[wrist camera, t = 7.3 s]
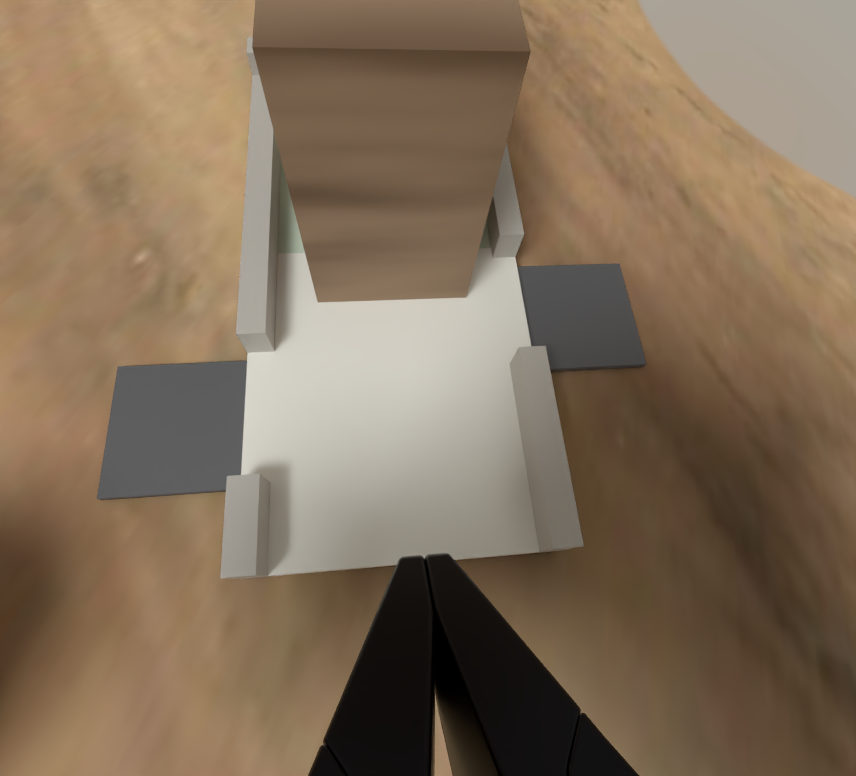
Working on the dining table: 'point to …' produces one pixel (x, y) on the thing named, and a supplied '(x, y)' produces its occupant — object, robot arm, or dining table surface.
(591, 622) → the dining table surface
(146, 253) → the dining table surface
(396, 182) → the walnut block
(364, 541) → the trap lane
